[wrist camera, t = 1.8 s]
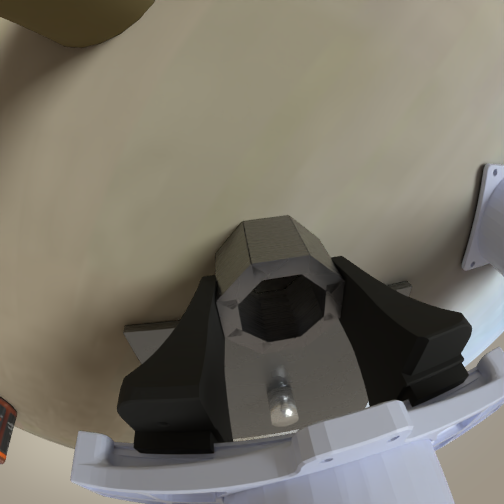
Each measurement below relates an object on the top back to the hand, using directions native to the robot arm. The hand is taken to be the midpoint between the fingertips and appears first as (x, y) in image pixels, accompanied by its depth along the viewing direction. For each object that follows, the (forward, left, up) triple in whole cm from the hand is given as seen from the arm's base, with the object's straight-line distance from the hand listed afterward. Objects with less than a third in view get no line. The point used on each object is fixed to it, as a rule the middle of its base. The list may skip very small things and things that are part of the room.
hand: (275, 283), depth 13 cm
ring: (0, 0, -2) cm, 2 cm away
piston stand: (0, +12, -2) cm, 12 cm away
